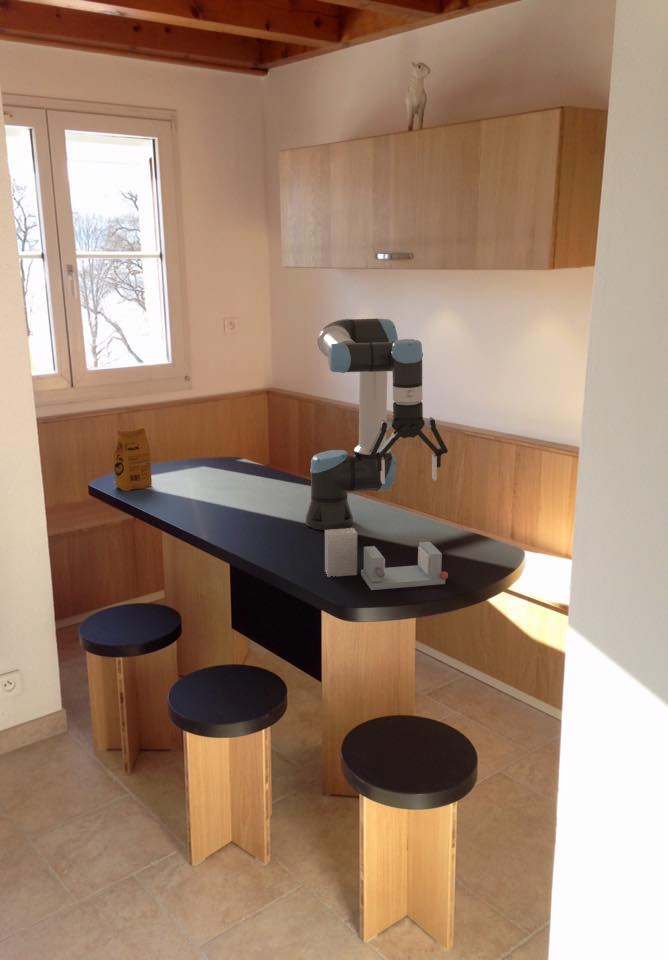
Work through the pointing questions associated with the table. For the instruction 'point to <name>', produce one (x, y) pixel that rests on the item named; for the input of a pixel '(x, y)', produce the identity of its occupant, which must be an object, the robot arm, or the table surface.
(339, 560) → the steel block
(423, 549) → the vise
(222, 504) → the table surface
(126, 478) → the coffee package
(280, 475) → the table surface
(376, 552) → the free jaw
